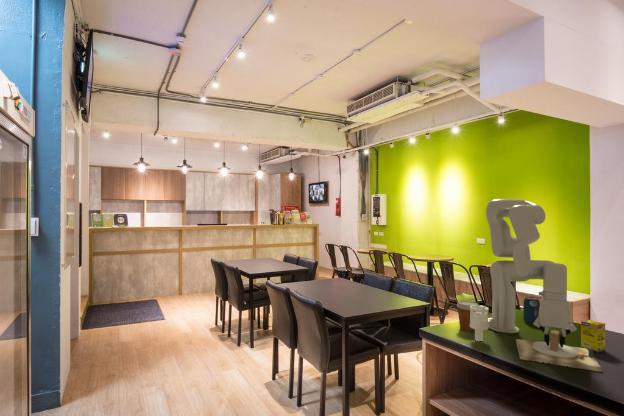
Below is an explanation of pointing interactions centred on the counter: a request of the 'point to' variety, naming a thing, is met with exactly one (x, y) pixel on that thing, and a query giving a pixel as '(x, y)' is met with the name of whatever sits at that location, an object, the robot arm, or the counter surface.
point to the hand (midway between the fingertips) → (554, 344)
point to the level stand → (578, 362)
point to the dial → (555, 347)
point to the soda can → (530, 309)
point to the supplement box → (593, 335)
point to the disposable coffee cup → (465, 314)
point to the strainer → (479, 320)
